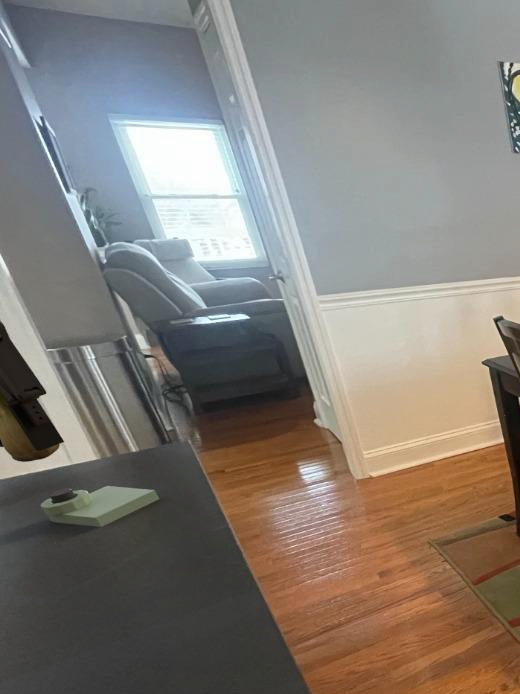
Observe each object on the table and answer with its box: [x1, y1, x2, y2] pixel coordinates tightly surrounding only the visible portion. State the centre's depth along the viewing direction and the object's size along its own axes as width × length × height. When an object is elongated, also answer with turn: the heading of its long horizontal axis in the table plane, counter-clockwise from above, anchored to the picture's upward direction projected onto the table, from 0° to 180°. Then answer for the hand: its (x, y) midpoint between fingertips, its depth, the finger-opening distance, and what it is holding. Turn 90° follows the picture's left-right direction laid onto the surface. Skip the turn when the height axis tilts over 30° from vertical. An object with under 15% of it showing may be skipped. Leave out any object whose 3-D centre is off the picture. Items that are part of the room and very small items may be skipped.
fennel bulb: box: [0, 392, 61, 463], centre depth 80 cm, size 6×5×12 cm
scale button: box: [48, 488, 76, 504], centre depth 99 cm, size 3×3×2 cm
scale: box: [40, 485, 160, 528], centre depth 101 cm, size 12×10×4 cm
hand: (31, 444), depth 82 cm, fingers closed on fennel bulb, 6 cm apart
